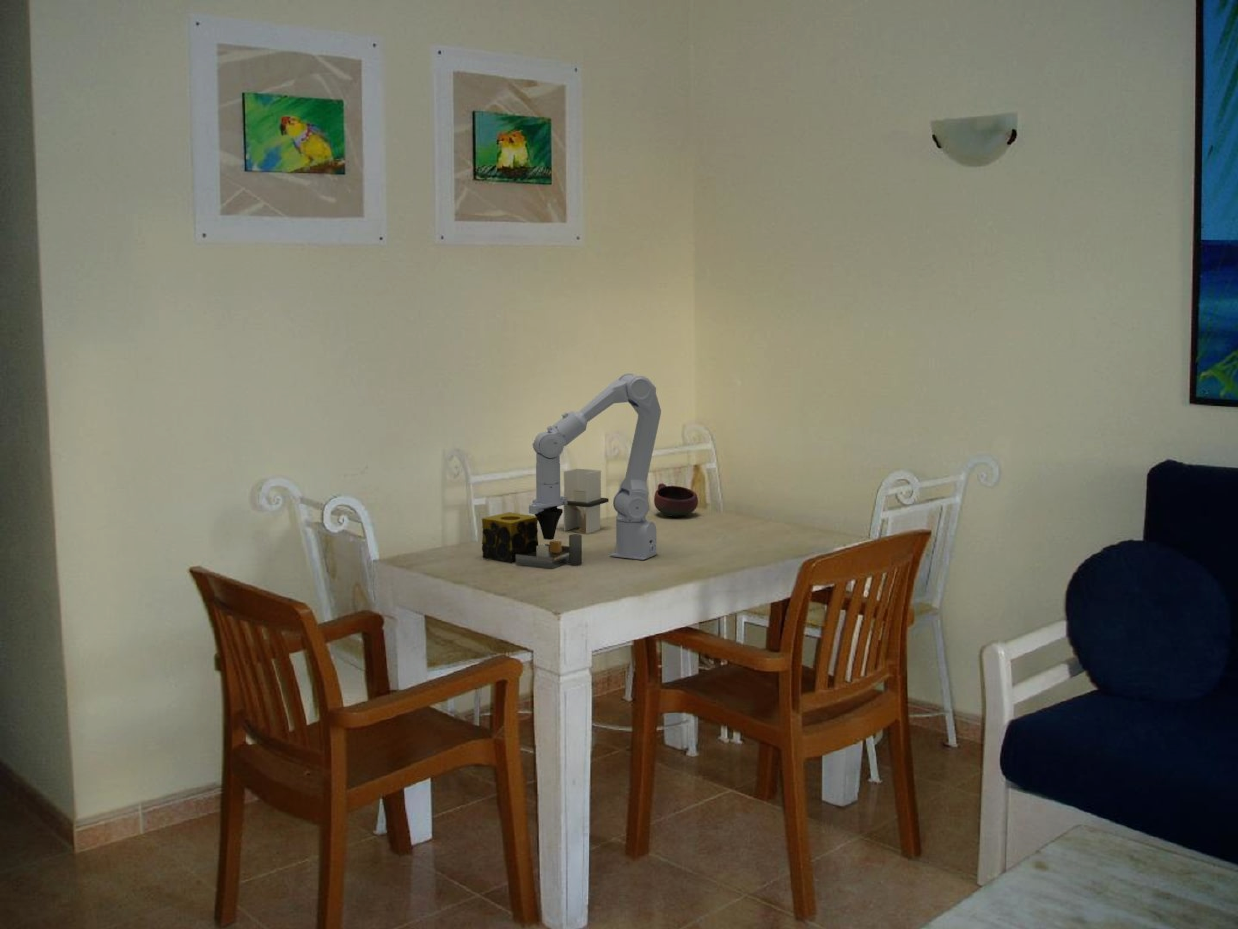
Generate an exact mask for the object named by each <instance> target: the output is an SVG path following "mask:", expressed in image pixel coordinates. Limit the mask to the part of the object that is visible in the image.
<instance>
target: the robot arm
mask: <svg viewBox="0 0 1238 929" xmlns="http://www.w3.org/2000/svg"><path fill="white" fill-rule="evenodd" d="M621 403H629V404H630V405H631V407H632V408H633V409H634V411H635V412H636V414H637V421H636V425H635V428H634V429H635V430H634V435H633V439H632V443H631V444H632V445H631V448H630V454H629V457H628V458H629V459H628V464H627V468H626V472H625V476H624V479H623V480H622V482H621V483H620V485H619V488H618V491H617V492H616V493H615V495H614V497H613V500H612V506H613V509H614V510H615V512H617V514H616V517H615V518H616V520H615V522H616V523H615V534H616V536H615V538H616V541H615V544H616V545H615V550H616V551H614V552H612V553H610V554H609V557H613V558H614V557H615V558H623V559H625V558H626V559H632V560H633V559H634V560H641V561H645V560H647V559H650V558H651V557H654V556H657V555H658V554H659V552H658V551H657V526H656V524H655V523H654V521H650V520H647V519H646V518H647V515H648V513H649V512H650V511H649V510H650V504H649V500H648V499H649V489H648V484H647V480H648V476H649V472H650V471H649V470H650V466H651V461H652V457H653V453H654V448H655V443H656V438H657V433H658V429H659V424H660V419H661V414H662V410H661V407H660V403H659V399H658V396H657V387H656V386H655V384H654V383H653V382H652V381H651V380H650V379H649V378H648V377H646V376H645V375H644V376H643V375H635V374H633V373H624V374H623V375H621V376H619V378H618V379H615V380H613V381H611V383H610V384H609V385H608V386H607V387H605V388H604V389H603V390H602V391H601V392H599V393H598V394H597V395H596V396H595V397H594V398H592V400H591V401H589V402H588V403H587V404H586V405H585V406H583V407H582V408H581V409H580V410H579V411H574V410H571V411H569V412H563V413H562V415H561V416H562V417H561V418H560V419H559V420H558V421H557V422H556V423H554V424H553V425H548V426H547V427H546V429H547V431H542V432H539V433H538V434H537V435H536V436H535V439H533V443H532V448H533V451H534V452H535V453H536V454H535V455H536V458H535V459H536V460H535V484H536V485H535V491H536V492H535V493H536V495H535V496H536V498H535V499H532V503H531V504H529V505H528V514H531V515H532V514H533V515H534V516H536V518H537V519H538V523H539V526H540V530H541V533H542V538H543V540H548V541H553V540H554V539H555V535H556V532H557V526H558V523H559V520H560V519H561V516H562V515H563V514H564V508H559V507H561V506H564V505H567V497H564V496H561V463H560V462H561V460H560V458H561V457H560V456H561V455H562V453H563V451H564V448H565V447H566V446H568V445H569V444H570V443H572V442H573V441H574V440H575V439H577V437H579V436H580V435H582V434H583V433H584V432H586V430H587V427H588V426H587V425H588V423H589V422H590V421H591V420H593V419H594V418H595V417H597V416H598V415H600V414H601V413H602V412H604V411H606V410H607V409H608V408H609V407H611V406H613V405H614V404H621Z"/></svg>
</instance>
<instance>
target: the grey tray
mask: <svg viewBox="0 0 1238 929" xmlns="http://www.w3.org/2000/svg"><path fill="white" fill-rule="evenodd" d="M544 545H546V546H549V556H548V557H540V556H537V553H536V552H533V553H530V554H528V555H523V554H516V562H515V565H516V566H521V567H523V566H524V567H531V568H539V569H546V570H547V569H548V570H554V569H556V568H559V567H562V566H564V565H566V564H569V545H562V552H559V553H556V552H550V543H544Z"/></svg>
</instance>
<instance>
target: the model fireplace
mask: <svg viewBox="0 0 1238 929" xmlns="http://www.w3.org/2000/svg"><path fill="white" fill-rule="evenodd" d="M601 476H602V470H600V469H599V470H598V469H590V468H589V469H588V468H587V469H586V468H573V469H569V470H568V469H567V470H564V471H563V497H567V505H563V531H564V532H567V531H570V530H574V529H576V528H579V529H577V531H576V534H585V535H588V534H590V533H593V532H594V533H595V532H596V531H600V530H601V505H603V504H607V503H609V498H608V497H602V480H601V479H602V477H601Z"/></svg>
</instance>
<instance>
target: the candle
mask: <svg viewBox="0 0 1238 929" xmlns="http://www.w3.org/2000/svg"><path fill="white" fill-rule="evenodd" d="M481 523H482V525H481V526H482V541H481V542H482V543H481V544H482V546H481V551H482V557H483V558H484V559H488V560H492V561H498V562H504V563H509V564H510V563H516V554H523V555H528V554H530V553H533V552H536V546H538V545H539V539H538V538H539V534H538V533H539V529H538V523H539V521H538V519H537V518H536V516H535V515H528V514H524V513H516V512H510V511H508V512H505V513H500V514H495V515H490V516H486V517H482V518H481Z"/></svg>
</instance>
